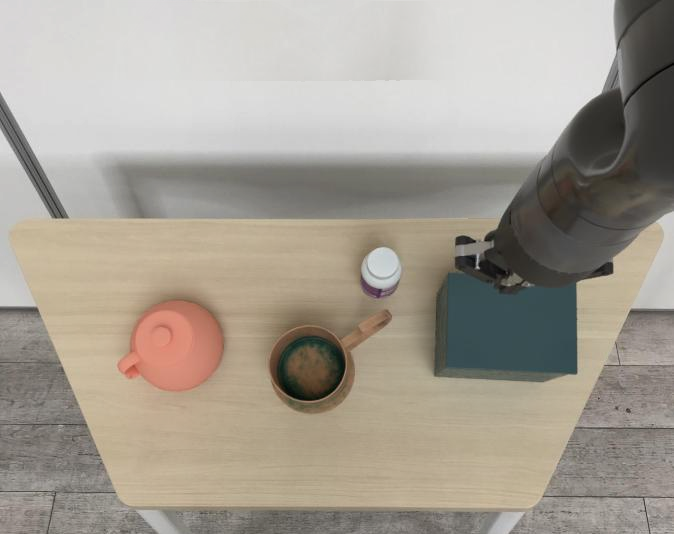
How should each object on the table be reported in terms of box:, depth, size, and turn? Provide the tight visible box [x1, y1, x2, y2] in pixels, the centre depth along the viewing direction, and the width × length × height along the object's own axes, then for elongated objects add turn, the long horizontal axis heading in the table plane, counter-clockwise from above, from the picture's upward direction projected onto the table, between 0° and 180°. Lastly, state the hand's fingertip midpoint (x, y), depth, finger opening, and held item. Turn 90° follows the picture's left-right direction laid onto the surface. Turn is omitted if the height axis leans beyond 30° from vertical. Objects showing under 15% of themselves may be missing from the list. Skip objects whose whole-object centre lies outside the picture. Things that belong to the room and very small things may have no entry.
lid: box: [445, 271, 578, 376], centre depth 74 cm, size 16×12×1 cm
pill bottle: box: [359, 246, 403, 301], centre depth 81 cm, size 5×5×10 cm
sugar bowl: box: [116, 300, 224, 393], centre depth 80 cm, size 12×14×10 cm
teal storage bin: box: [433, 274, 568, 383], centre depth 80 cm, size 15×12×10 cm
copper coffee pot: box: [267, 308, 393, 415], centre depth 79 cm, size 12×18×12 cm, turn 121°
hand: (506, 283), depth 57 cm, fingers closed
